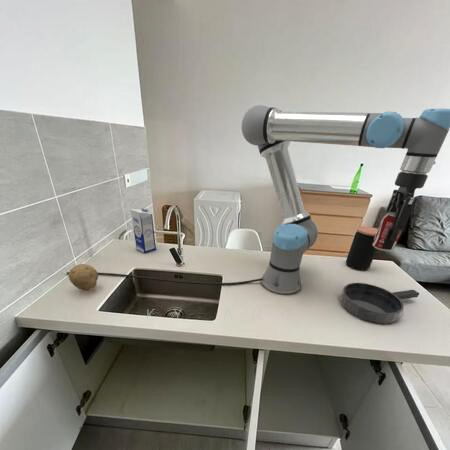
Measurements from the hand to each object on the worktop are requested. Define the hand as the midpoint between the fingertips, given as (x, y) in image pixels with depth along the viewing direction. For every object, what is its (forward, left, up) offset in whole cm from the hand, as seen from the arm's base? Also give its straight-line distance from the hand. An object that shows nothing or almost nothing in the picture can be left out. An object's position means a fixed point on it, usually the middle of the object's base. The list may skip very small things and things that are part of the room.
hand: (383, 244), depth 84 cm
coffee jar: (+16, +21, -21) cm, 34 cm away
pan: (-4, -8, -21) cm, 23 cm away
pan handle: (+11, -8, -19) cm, 23 cm away
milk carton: (-81, +57, -21) cm, 102 cm away
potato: (-102, +25, -21) cm, 107 cm away
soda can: (0, 0, -2) cm, 2 cm away
